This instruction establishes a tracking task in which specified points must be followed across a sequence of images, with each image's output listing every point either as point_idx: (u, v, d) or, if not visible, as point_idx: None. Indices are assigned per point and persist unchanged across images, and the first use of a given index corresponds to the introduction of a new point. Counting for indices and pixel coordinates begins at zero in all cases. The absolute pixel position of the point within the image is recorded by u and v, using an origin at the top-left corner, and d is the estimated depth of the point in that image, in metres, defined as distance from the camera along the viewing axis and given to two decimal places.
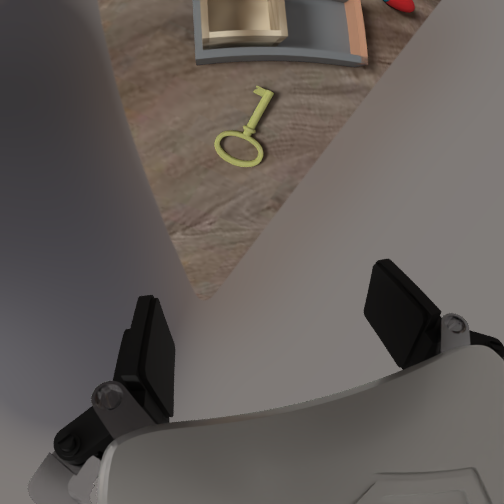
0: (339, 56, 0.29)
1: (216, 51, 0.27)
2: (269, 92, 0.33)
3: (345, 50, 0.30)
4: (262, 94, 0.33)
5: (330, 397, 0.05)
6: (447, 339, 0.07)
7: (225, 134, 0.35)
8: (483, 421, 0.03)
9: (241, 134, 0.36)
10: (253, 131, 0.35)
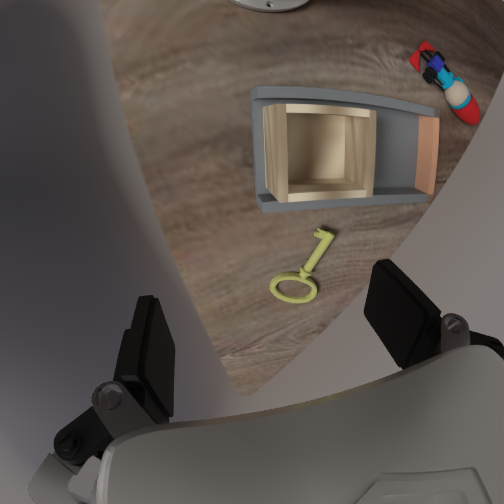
0: (409, 199, 0.30)
1: (287, 204, 0.28)
2: (331, 236, 0.34)
3: (411, 179, 0.32)
4: (323, 237, 0.34)
5: (330, 397, 0.05)
6: (447, 339, 0.07)
7: (282, 279, 0.36)
8: (483, 421, 0.03)
9: (298, 278, 0.37)
10: (310, 275, 0.36)
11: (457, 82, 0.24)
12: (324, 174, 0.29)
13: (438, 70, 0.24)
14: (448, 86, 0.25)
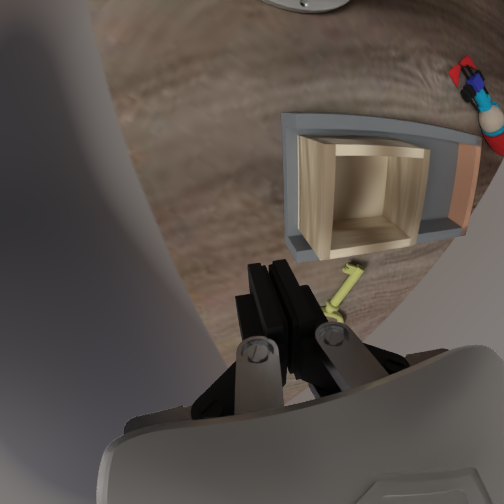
0: (444, 235, 0.26)
1: None
2: (360, 271, 0.30)
3: (445, 209, 0.28)
4: (352, 273, 0.30)
5: (330, 397, 0.05)
6: (338, 357, 0.07)
7: None
8: (483, 421, 0.03)
9: (325, 313, 0.33)
10: (337, 309, 0.33)
11: (495, 107, 0.20)
12: (362, 213, 0.26)
13: (478, 90, 0.19)
14: (485, 109, 0.21)
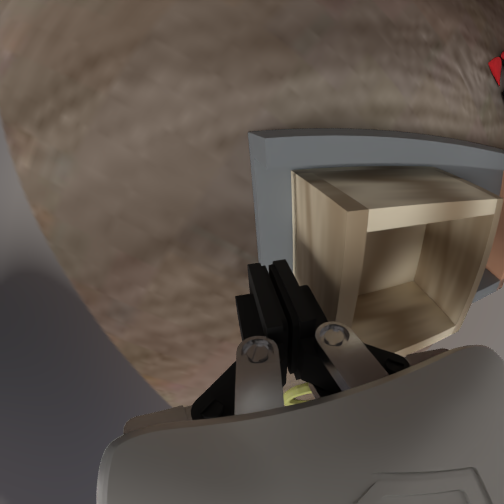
0: (480, 295, 0.17)
1: None
2: None
3: None
4: None
5: (330, 397, 0.05)
6: (338, 357, 0.07)
7: (298, 395, 0.24)
8: (483, 421, 0.03)
9: None
10: None
11: None
12: (388, 282, 0.17)
13: None
14: None
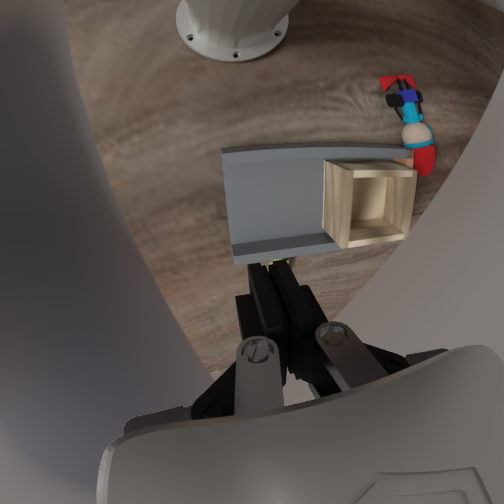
0: None
1: (255, 256, 0.32)
2: None
3: None
4: None
5: (330, 397, 0.05)
6: (338, 357, 0.07)
7: None
8: (483, 421, 0.03)
9: None
10: None
11: (423, 124, 0.28)
12: (368, 216, 0.35)
13: (406, 100, 0.27)
14: (410, 122, 0.29)
